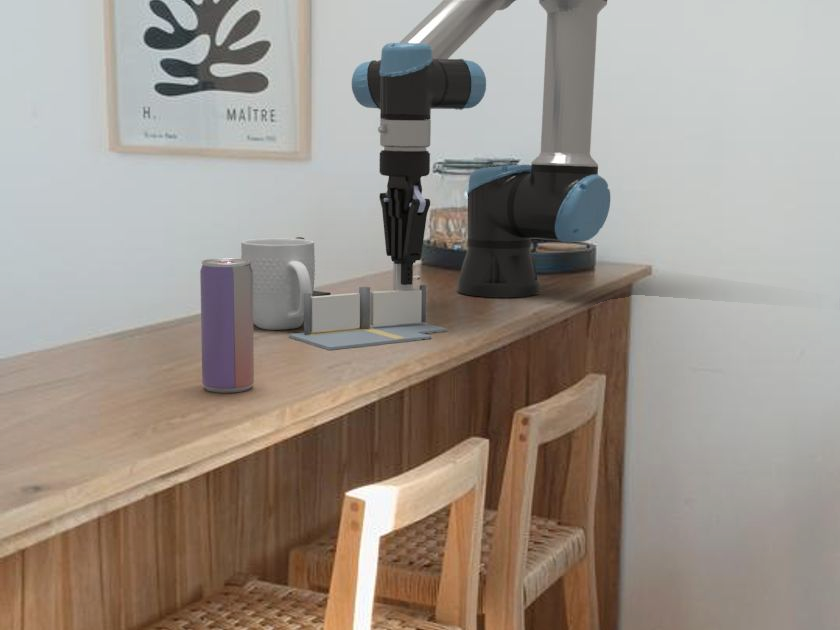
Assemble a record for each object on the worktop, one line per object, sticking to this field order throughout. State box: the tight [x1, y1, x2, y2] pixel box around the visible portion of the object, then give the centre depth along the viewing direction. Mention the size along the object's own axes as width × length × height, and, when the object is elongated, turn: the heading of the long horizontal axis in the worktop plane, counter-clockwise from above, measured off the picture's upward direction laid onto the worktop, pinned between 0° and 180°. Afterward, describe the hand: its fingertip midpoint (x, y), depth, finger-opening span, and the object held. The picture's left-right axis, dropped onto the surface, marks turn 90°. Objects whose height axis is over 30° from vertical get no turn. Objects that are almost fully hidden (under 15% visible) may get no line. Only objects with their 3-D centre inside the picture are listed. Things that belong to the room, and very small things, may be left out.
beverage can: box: [199, 257, 255, 394], centre depth 140 cm, size 6×6×15 cm
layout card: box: [288, 322, 448, 351], centre depth 177 cm, size 22×12×1 cm, turn 124°
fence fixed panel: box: [303, 286, 371, 335], centre depth 177 cm, size 11×2×7 cm, turn 124°
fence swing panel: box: [370, 284, 427, 326], centre depth 182 cm, size 9×1×6 cm, turn 117°
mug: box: [240, 237, 316, 331], centre depth 181 cm, size 15×11×13 cm
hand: (402, 304), depth 184 cm, fingers closed
